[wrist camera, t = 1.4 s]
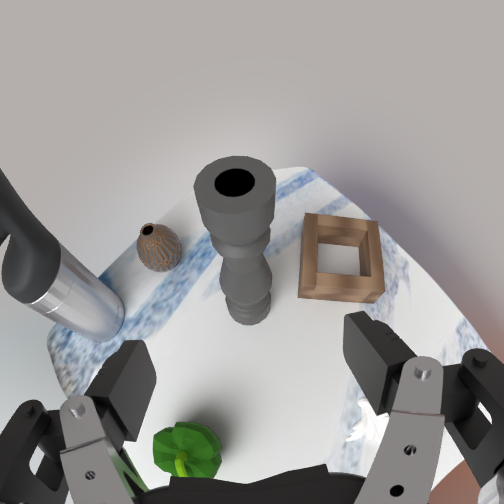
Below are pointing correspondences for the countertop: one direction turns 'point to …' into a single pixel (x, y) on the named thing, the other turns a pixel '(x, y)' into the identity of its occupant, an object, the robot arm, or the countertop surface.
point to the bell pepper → (187, 450)
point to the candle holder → (240, 230)
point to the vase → (158, 247)
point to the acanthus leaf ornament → (369, 423)
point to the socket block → (340, 285)
